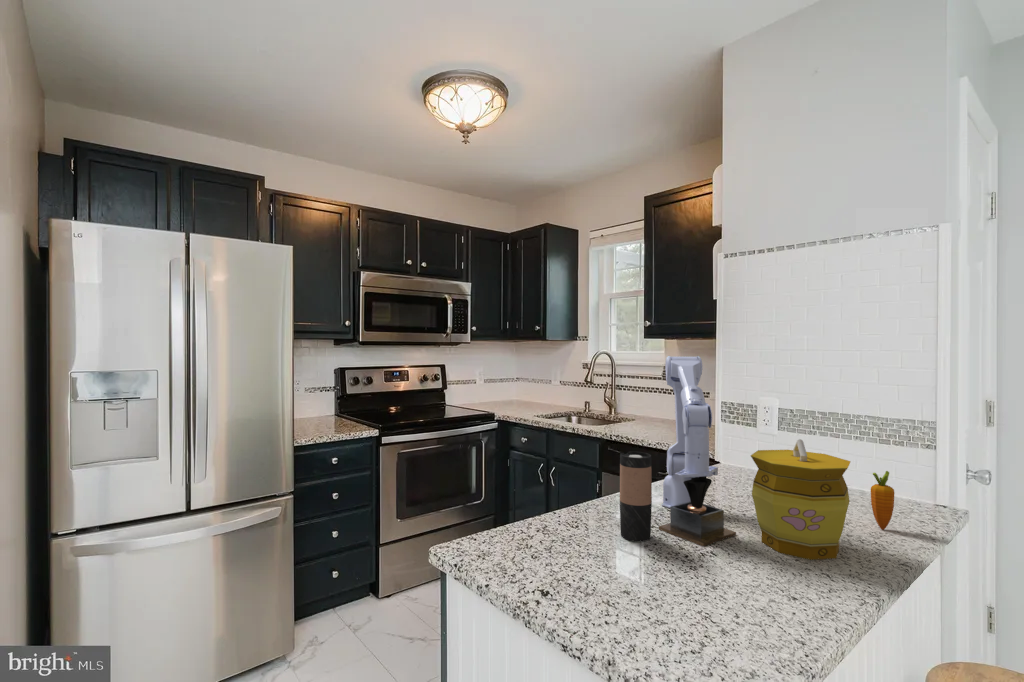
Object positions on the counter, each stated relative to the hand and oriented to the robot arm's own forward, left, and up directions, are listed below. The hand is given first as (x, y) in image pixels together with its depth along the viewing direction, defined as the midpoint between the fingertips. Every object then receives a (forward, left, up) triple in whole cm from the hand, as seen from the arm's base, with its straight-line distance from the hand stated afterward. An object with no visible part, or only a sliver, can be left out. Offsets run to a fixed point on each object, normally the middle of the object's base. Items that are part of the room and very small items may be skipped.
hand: (696, 507), depth 125 cm
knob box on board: (0, 0, -6) cm, 6 cm away
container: (+18, +13, -7) cm, 24 cm away
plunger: (0, 0, -5) cm, 5 cm away
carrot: (+24, +42, -6) cm, 49 cm away
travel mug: (-7, -15, -6) cm, 18 cm away
